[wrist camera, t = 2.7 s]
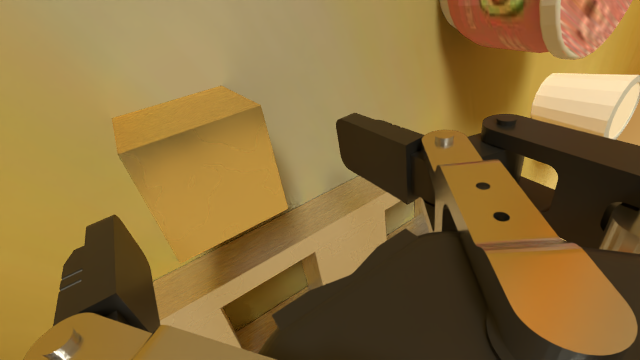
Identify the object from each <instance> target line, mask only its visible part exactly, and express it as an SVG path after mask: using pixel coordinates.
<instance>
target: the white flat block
mask: <svg viewBox="0 0 640 360" xmlns="http://www.w3.org/2000/svg"><path fill="white" fill-rule="evenodd" d="M400 201H401V200H399V199H397V198H396V197H394V196H392V195H391V194H389V193H387V192H386V191H384V190H382V189H381V188H379V187H377V186H376V185H374V184H372V183H371V182H369V181H367V180H366V179H364V178H362V177H361V176H357V177H356V178H354V179H352V180H350V181H348V182H346V183H344V184H342V185H340V186H338V187H336V188H334V189H332V190H330V191H328V192H326V193H324V194H322V195H321V196H319V197H317V198H315V199H313V200H311V201H309V202H307V203H305V204H303V205H301V206H299V207H297V208H295V209H293V210H291V211H289V212H288V213H286V214H284V215H282V216H280V217H278V218H276V219H274V220H272V221H270V222H268V223H266V224H264V225H262V226H260V227H258V228H256V229H254V230H253V231H251V232H249V233H247V234H245V235H243V236H241V237H239V238H237V239H235V240H233V241H231V242H229V243H227V244H225V245H223V246H221V247H220V248H218V249H216V250H214V251H212V252H210V253H208V254H206V255H204V256H202V257H200V258H198V259H196V260H194V261H192V262H190V263H188V264H186V265H185V266H183V267H181V268H179V269H177V270H175V271H173V272H171V273H169V274H167V275H165V276H163V277H161V278H159V279H157V280H155V281H153V286H154V292H155V297H156V303H157V308H158V314H159V319H160V325H168V326H172V327H175V328H178V329H181V330H185V331H188V332H191V333H194V334H197V335H200V336H203V337H207V338H210V339H213V340H216V341H219V342H222V343H226V344H229V345H232V346H235V347H238V348H241V349H244V350H248V351H251V352H254V353H257V354H258V353H259V351H260V349H261V348H262V346H263V345H264V343H265V342H266V341H267V339H268V338H269V337H270V335H271V334H272V333H273V332H274V331H275V330H276V329H277V326H276V324H275V322H274V319H273V317H272V314H274V313H275V312H277V311H279V310H280V309H282V308H283V307H285V306H286V305H288V304H289V303H291V302H292V301H294V300H296V299H297V298H299V297H300V296H302V295H303V294H305V293H306V292H308V291H309V290H312V289H315V288H317V287H320V286H323V285H325V284H328V283H331V282H333V281H336V280H338V279H341V278H344V277H346V276H349V275H351V274H352V273H353V272H355V270H356V269H357V268H358V267H359V266H360V265H361V264H362V263H363V262H364V261H365V260H366V258H367V257H368V256H369V255H370V254H371V253H372V252H373V251H374V250H375V249H376V248H377V247H378V246H379V245H381V244H382V243H384V242H385V241H387V240H388V239H390V238H391V237H393V236H395V235H396V234H398V233H399V232H401V231H402V230H404V229H405V228H406V229H407V230H409V231H410V232H412V233H413V234H415V235H416V236H419V235H422V234H426V233H429V229H428V226H427V222H426V219H425V216H424V212H423V209H422V198H420V197H419V198H418V199H416V200H415V209H414V219H412V220H411V221H409V222H408V223H406V224H404V225H403V226H401V227H400V228H398V229H397V230H395V231H394V232H392V233H390V234H389V235H387V236H386V223H385V210H386V209H388V208H390V207H391V206H393V205H395V204H396V203H398V202H400ZM300 260H301V262H302V265H303V269H304V273H305V276H306V280H307V284H308V287H306V288H304V289H303V290H301V291H300V292H298V293H297V294H295V295H294V296H292V297H290V298H289V299H287V300H286V301H284V302H283V303H281V304H279V305H278V306H276V307H275V308H273V309H272V310H270V311H269V312H267V313H265V314H264V315H262V316H261V317H259V318H258V319H256V320H254V321H253V322H251V323H250V324H248V325H247V326H245V327H244V328H242V329H240V330H239V331H237V332H235V330H234V328H233V326H232V324H231V322H230V320H229V318H228V316H227V314H226V313H225V311H224V309H223V306H225V305H227V304H228V303H230V302H232V301H233V300H235V299H237V298H238V297H240V296H242V295H243V294H245V293H247V292H248V291H250V290H252V289H253V288H255V287H257V286H258V285H260V284H262V283H263V282H265V281H267V280H269V279H270V278H272V277H274V276H275V275H277V274H279V273H280V272H282V271H284V270H285V269H287V268H289V267H290V266H292V265H294V264H295V263H297V262H299V261H300Z"/></svg>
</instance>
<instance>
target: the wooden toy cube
mask: <svg viewBox="0 0 640 360" xmlns="http://www.w3.org/2000/svg"><path fill="white" fill-rule="evenodd" d="M112 122H113V128H114V134H115V140H116V146H117V152H118V155H119V157H120V159H121V161H122V162H123V164H124V166H125V168H126V169H127V171H128V173H129V175H130V176H131V178H132V180H133V182H134V183H135V185H136V187H137V189H138V190H139V192H140V194H141V196H142V197H143V199H144V201H145V203H146V204H147V206H148V208H149V210H150V211H151V213H152V215H153V217H154V218H155V220H156V222H157V224H158V225H159V227H160V229H161V231H162V232H163V234H164V236H165V238H166V239H167V241H168V243H169V245H170V246H171V248H172V250H173V252H174V253H175V255H176V257H177V259H178V260H179V262H180V263H182V262H184V261H186V260H188V259H190V258H192V257H194V256H196V255H198V254H200V253H202V252H204V251H206V250H208V249H210V248H212V247H214V246H216V245H218V244H220V243H222V242H224V241H226V240H228V239H230V238H232V237H234V236H236V235H237V234H239V233H241V232H243V231H245V230H247V229H249V228H251V227H253V226H255V225H257V224H259V223H261V222H263V221H265V220H267V219H269V218H271V217H273V216H275V215H277V214H279V213H281V212H283V211H285V210H287V209H288V206H287V202H286V198H285V194H284V191H283V187H282V183H281V179H280V176H279V172H278V168H277V165H276V161H275V157H274V153H273V150H272V146H271V142H270V138H269V135H268V131H267V127H266V123H265V120H264V116H263V112H262V108H261V105H259V104H257V103H255V102H253V101H251V100H249V99H247V98H245V97H243V96H241V95H239V94H237V93H235V92H233V91H231V90H229V89H227V88H225V87H223V86H218V87H215V88H212V89H208V90H205V91H202V92H198V93H195V94H192V95H188V96H185V97H182V98H178V99H175V100H171V101H168V102H165V103H161V104H158V105H155V106H151V107H148V108H145V109H141V110H138V111H135V112H131V113H128V114H125V115H121V116H118V117H115V118H112Z"/></svg>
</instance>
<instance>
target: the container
mask: <svg viewBox="0 0 640 360" xmlns="http://www.w3.org/2000/svg"><path fill="white" fill-rule="evenodd" d="M439 1H440V5H441V9H442V11H443V14H444V16H445V18H446V19H447V21H448V22H449V24H450V25H452V26H453V27H454V28H456V29H458V31H459V32H460V33H461V34H462V35H464V36H465V37H466V38H468V39H470V40H471V41H473V42H475V43H476V44H478V45H481V46H485V47H492V48H501V49H510V50H519V51H528V52H536V53H542V52H550V53H551V54H552V55H553V56H555V57H558V58H561V59H572V60H575V59H580V58H584V57H586V56H587V55H589V54H591V53H593V52H594V51H595V50H596V49H597V48H598V47H599V46H601V45H602V44H603V43H604V41H605V40H606V39H607V38H608V37H609V36H610V34H611V33H612V32H613V31H614V29H615V28H616V26H617V25H618V23H619V22H620V21H621V19H622V17H623V16H624V14H625V12H626V11H627V9H628V7H629V6H630V4H631V2H632V0H439Z"/></svg>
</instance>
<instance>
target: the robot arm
mask: <svg viewBox="0 0 640 360" xmlns="http://www.w3.org/2000/svg"><path fill="white" fill-rule="evenodd" d="M336 129H337V135H338V141H339V148H340V154H341V158H342V161H343V163H344V164H345V166H346V167H347V168H348V169H349V170H351V171H352V172H354V173H356V174H357V175H359V176H361V177H362V178H364V179H366V180H367V181H369V182H371V183H372V184H374V185H376V186H377V187H379V188H381V189H382V190H384V191H386V192H387V193H389V194H391V195H392V196H394V197H396V198H397V199H399V200H401V201H402V202H404V203H406V204H407V205H408V204H409V203H411V202H413V201H414V200H416V199H418V198H419V197H420V198H422V209H423V212H424V216H425V219H426V222H427V226H428V229H429V233H426V234H422V235H419V236H416V235H415V234H413V233H412V232H410V231H409V230H407V229H406V228H405V229H404V230H402V231H401V232H399V233H398V234H396V235H395V236H393V237H391V238H390V239H388V240H387V241H385V242H384V243H382V244H381V245H379V246H378V247H377V248H376V249H375V250H374V251H373V252H372V253H371V254H370V255H369V256H368V257H367V258H366V260H365V261H364V262H363V263H362V264H361V265H360V266H359V267H358V268H357V269H356V270H355V272H353V273H352V274H351V275H349V276H346V277H344V278H341V279H338V280H336V281H333V282H331V283H328V284H325V285H323V286H320V287H317V288H315V289H312V290H309V291H308V292H306V293H305V294H303V295H302V296H300V297H299V298H297V299H296V300H294V301H292V302H291V303H289V304H288V305H286V306H285V307H283V308H282V309H280V310H279V311H277V312H275V313H274V314H272V317H273V319H274V322H275V324H276V326H277V329H276V330H275V331H274V332H273V333H272V334H271V335H270V337H269V338H268V339H267V341H266V342H265V343H264V345H263V346H262V348H261V349H260V351H259V353H258V354H257V353H254V352H251V351H248V350H244V349H241V348H238V347H235V346H232V345H229V344H226V343H222V342H219V341H216V340H213V339H210V338H207V337H203V336H200V335H197V334H194V333H191V332H188V331H185V330H181V329H178V328H175V327H172V326H168V325H160V319H159V314H158V308H157V303H156V297H155V292H154V286H153V281H152V275H151V270H150V266H149V263H148V261H147V259H146V257H145V255H144V253H143V252H142V250H141V249H140V247H139V246H138V244H137V243H136V241H135V240H134V239H133V237H132V236H131V234H130V233H129V231H128V230H127V228H126V227H125V226H124V224H123V223H122V221H121V220H120V219H119V217H118V216H116V215H112V216H110V217H108V218H105V219H103V220H101V221H98V222H96V223H94V224H91V225H89V226H87V227H86V235H85V246H83V247H80V248H78V249H76V250H74V251H73V253H72V254H71V255H70V257H69V258H68V260H67V261H66V263H65V264H64V266H63V272H62V281H61V283H60V292H59V295H58V301H57V306H56V312H55V318H54V324H53V327H52V328H51V329H49V330H48V331H47V332H46V333H44V334H43V335H42V336H41V337H40V338H39V339H38V340H37V341H36V342H35V343H34V344H33V346H32V347H31V348H30V349H29V351H28V352H27V354H26V355H25V357H24V359H23V360H640V146H638V145H634V144H630V143H626V142H622V141H618V140H614V139H610V138H606V137H602V136H598V135H594V134H590V133H586V132H583V131H579V130H575V129H571V128H567V127H563V126H559V125H555V124H551V123H547V122H543V121H539V120H535V119H531V118H527V117H523V116H519V115H513V114H499V115H493V116H489V117H487V118H485V119H484V120H483V123H482V132H481V133H480V134H476V135H472V136H469V137H467V136H466V135H465V134H463V133H461V132H458V131H454V130H437V131H433V132H430V133H427V134H426V135H422V134H419V133H417V132H414V131H411V130H408V129H405V128H400V127H399V126H397V125H392V124H391V123H388V122H385V121H382V120H374V119H371V118H368V117H366V116H363V115H360V114H357V113H353V114H350V115H348V116H346V117H343V118H341V119H339V120H337V123H336ZM524 156H525V157H528V158H531V159H534V160H537V161H539V162H542V163H545V164H548V165H550V166H552V167H553V168H554V169H555V170H556V172H557V174H558V182H557V185H556V189H555V190H554V189H551V188H549V187H546V186H544V185H541V184H539V183H536V182H534V181H531V180H529V179H527V178H524V177H522V176H521V171H522V166H523V161H524ZM559 237H560V238H562V239H564V240H566V241H564V240H562V239H560V238H559Z"/></svg>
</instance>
